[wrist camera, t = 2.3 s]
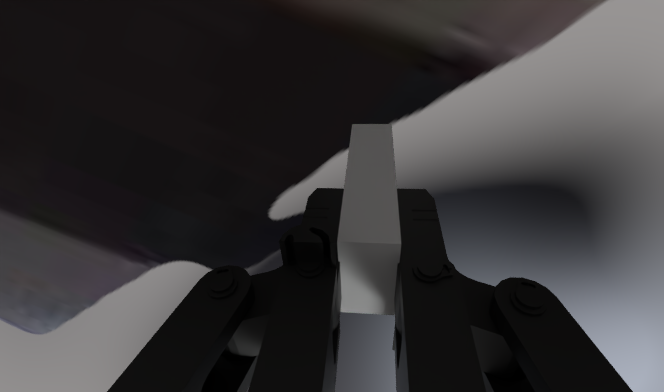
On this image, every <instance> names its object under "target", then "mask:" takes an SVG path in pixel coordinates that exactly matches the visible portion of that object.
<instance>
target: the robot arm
mask: <svg viewBox="0 0 664 392" xmlns="http://www.w3.org/2000/svg"><path fill="white" fill-rule="evenodd" d="M279 243H280V249H281V254H282V260H283V266H281V267H279V268H277V269H275V270H272V271H269V272H265V273H261V274H256V275H252V276H250V275H249V274H248V272H247V271H246V270H245V269H243V268H241V267H239V266H230V265H228V266H223V267H218V268H216V269H214V270H212V271H210V272H208V273H207V274H206V275H204V276H203V277H202V278H201V279H200V280H199V281H198V282H197V284H196V285H195V286H194V287H193V289H192V290H191V291H190V292H189V293H188V295H187V296H186V297H185V298H184V299H183V301H182V302H181V303H180V304H179V306H178V307H177V308H176V309H175V310H174V311H173V313H172V314H171V315H170V316H169V318H168V319H167V320H166V321H165V322H164V324H163V325H162V326H161V327H160V328H159V330H158V331H157V332H156V333H155V334H154V336H153V337H152V338H151V340H150V341H149V342H148V343H147V344H146V345H145V347H144V348H143V349H142V350H141V351H140V353H139V354H138V355H137V356H136V358H135V359H134V360H133V361H132V362H131V364H130V365H129V366H128V367H127V368H126V370H125V371H124V372H123V373H122V374H121V376H120V377H119V378H118V379H117V380H116V382H115V383H114V384H113V385H112V387H111V388H110V389H109V390H108V391H107V392H246V391H247V389H248V387H249V385H250V387H249V390H248V392H335V382H336V372H337V360H338V349H339V338H340V310H341V312H350V313H366V314H384V315H394V314H395V331H394V341H393V350H395V364H396V390H397V392H633V391H632V390H631V389H630V388H629V386H628V385H627V384H626V383H625V381H624V380H623V379H622V378H621V376H620V375H619V374H618V373H617V372H616V370H615V369H614V368H613V366H612V365H611V364H610V363H609V362H608V360H607V359H606V358H605V357H604V355H603V354H602V353H601V352H600V351H599V349H598V348H597V347H596V345H595V344H594V343H593V342H592V340H591V339H590V338H589V337H588V336H587V334H586V333H585V332H584V330H583V329H582V328H581V327H580V325H579V324H578V323H577V322H576V321H575V319H574V318H573V317H572V316H571V314H570V313H569V312H568V311H567V310H566V308H565V307H564V306H563V304H562V303H561V302H560V301H559V300H558V298H557V297H556V296H555V295H554V294H553V293H552V292H551V291H550V290H548V289H547V288H546V287H544V286H542V285H541V284H539V283H537V282H535V281H532V280H529V279H525V278H508V279H505V280H502V281H501V282H500V283H499V284H498V285H497V286H496V287H494V286H491V285H488V284H485V283H481V282H478V281H475V280H472V279H470V278H467V277H466V276H464V275H462V274H461V273H459V272H458V271H457V270H456V269H455V267H454V265H453V264H452V263H451V262H450V261H449V260H448V257H447V254H446V249H445V245H444V241H443V237H442V231H441V227H440V223H439V218H438V214H437V209H436V205H435V200H434V198H433V197H432V196H431V195H430V194H429V193H428V192H427V190H426V189H397V186H396V173H395V161H394V149H393V137H392V125H391V124H352V131H351V139H350V146H349V154H348V162H347V170H346V178H345V185H344V189H336V188H335V189H334V188H317V189H316V190H315V191H314V192H313V193H312V194H311V195H310V196H309V198H308V201H307V205H306V210H305V212H304V216H303V220H302V224H301V225H298V226H296V227H293V228H291V229H289V230H288V231H287V232H285V233H284V234H283V236H282V237H281V239H280V241H279Z"/></svg>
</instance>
